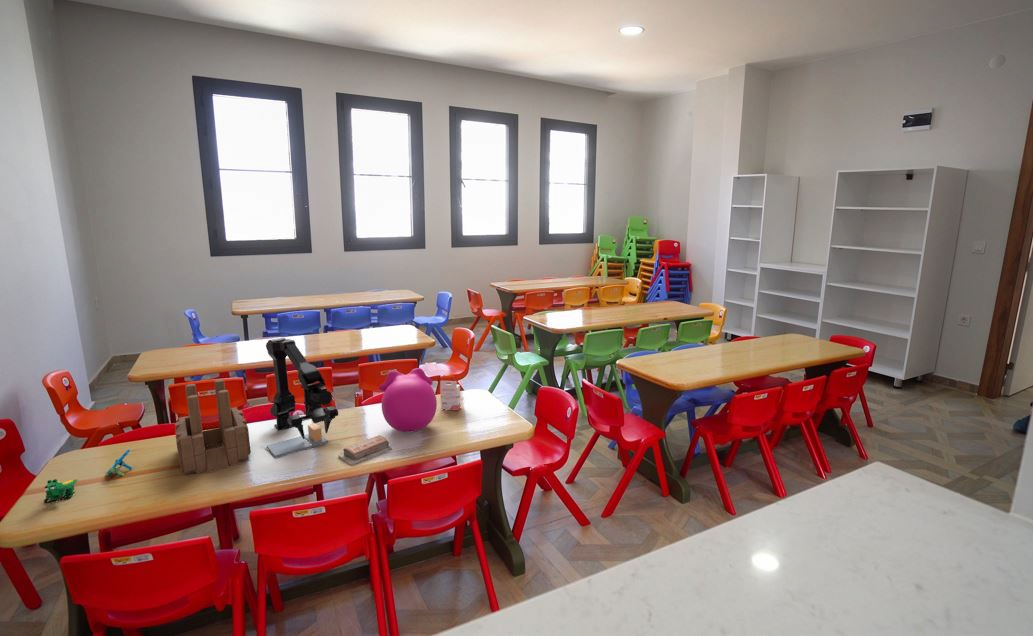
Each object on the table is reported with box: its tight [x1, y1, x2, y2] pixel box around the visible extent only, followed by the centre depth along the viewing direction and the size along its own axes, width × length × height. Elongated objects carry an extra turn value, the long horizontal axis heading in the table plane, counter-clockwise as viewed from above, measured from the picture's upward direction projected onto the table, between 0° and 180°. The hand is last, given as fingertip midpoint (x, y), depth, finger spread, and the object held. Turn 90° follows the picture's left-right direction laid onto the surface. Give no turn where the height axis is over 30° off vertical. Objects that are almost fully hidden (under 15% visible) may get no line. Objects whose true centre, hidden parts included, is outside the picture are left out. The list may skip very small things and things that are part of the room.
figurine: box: [378, 367, 438, 433], centre depth 221 cm, size 23×24×25 cm
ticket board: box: [265, 435, 314, 459], centre depth 206 cm, size 12×14×1 cm
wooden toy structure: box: [174, 378, 252, 476], centre depth 198 cm, size 23×30×27 cm
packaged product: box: [337, 435, 393, 466], centre depth 201 cm, size 18×5×10 cm
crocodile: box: [43, 478, 78, 505], centre depth 172 cm, size 20×6×9 cm, turn 26°
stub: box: [304, 422, 329, 448], centre depth 212 cm, size 12×6×6 cm, turn 40°
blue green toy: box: [106, 449, 133, 477], centre depth 188 cm, size 11×6×10 cm
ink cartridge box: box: [439, 380, 462, 411], centre depth 245 cm, size 9×5×15 cm, turn 80°
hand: (315, 435), depth 213 cm, fingers open, 9 cm apart
